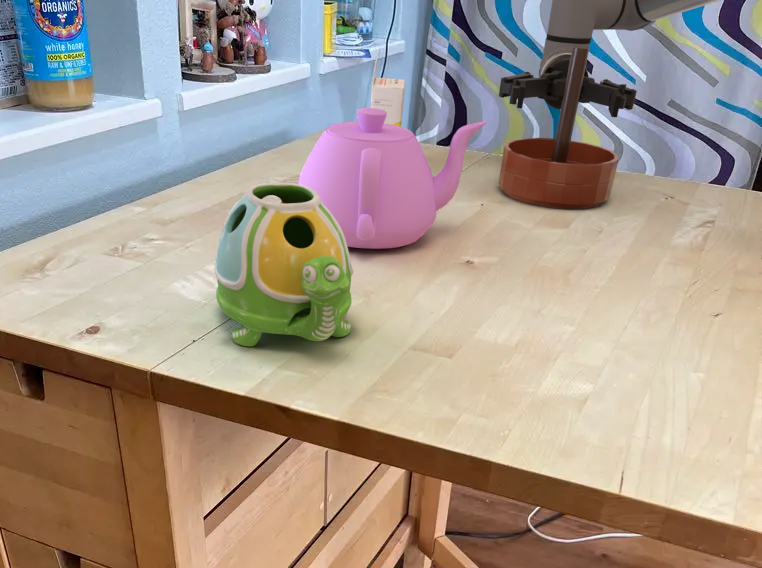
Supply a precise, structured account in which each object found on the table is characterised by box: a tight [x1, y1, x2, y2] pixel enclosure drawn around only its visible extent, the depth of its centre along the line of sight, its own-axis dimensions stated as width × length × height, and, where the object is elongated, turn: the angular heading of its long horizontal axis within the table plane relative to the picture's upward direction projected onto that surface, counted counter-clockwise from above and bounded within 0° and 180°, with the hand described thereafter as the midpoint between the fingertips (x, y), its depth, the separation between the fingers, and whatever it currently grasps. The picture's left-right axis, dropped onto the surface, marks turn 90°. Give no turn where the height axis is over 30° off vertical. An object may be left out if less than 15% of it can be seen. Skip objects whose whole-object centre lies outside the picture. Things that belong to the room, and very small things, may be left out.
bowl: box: [498, 137, 620, 210], centre depth 118 cm, size 16×16×6 cm
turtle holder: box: [213, 182, 354, 348], centre depth 71 cm, size 12×18×12 cm
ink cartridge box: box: [369, 54, 406, 127], centre depth 123 cm, size 9×5×15 cm, turn 178°
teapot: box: [297, 107, 488, 250], centre depth 95 cm, size 22×22×14 cm
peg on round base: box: [551, 46, 590, 163], centre depth 114 cm, size 6×6×18 cm
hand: (568, 102), depth 116 cm, fingers open, 13 cm apart
